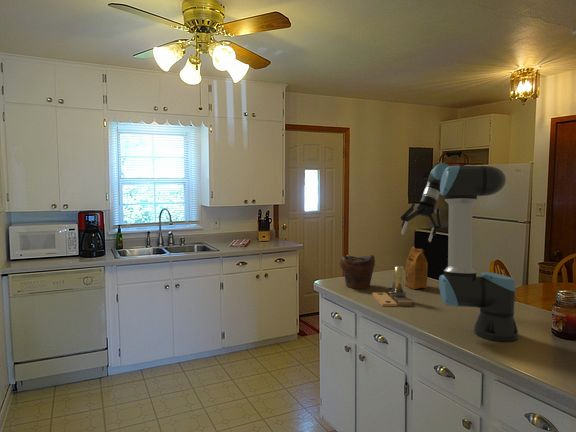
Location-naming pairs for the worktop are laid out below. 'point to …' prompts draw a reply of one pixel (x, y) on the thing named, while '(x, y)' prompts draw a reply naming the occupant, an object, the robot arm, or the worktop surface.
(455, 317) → the worktop surface
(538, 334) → the worktop surface
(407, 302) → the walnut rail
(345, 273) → the brown basket
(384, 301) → the orange bolt plate
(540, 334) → the worktop surface
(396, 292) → the brass leg
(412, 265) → the coffee package
